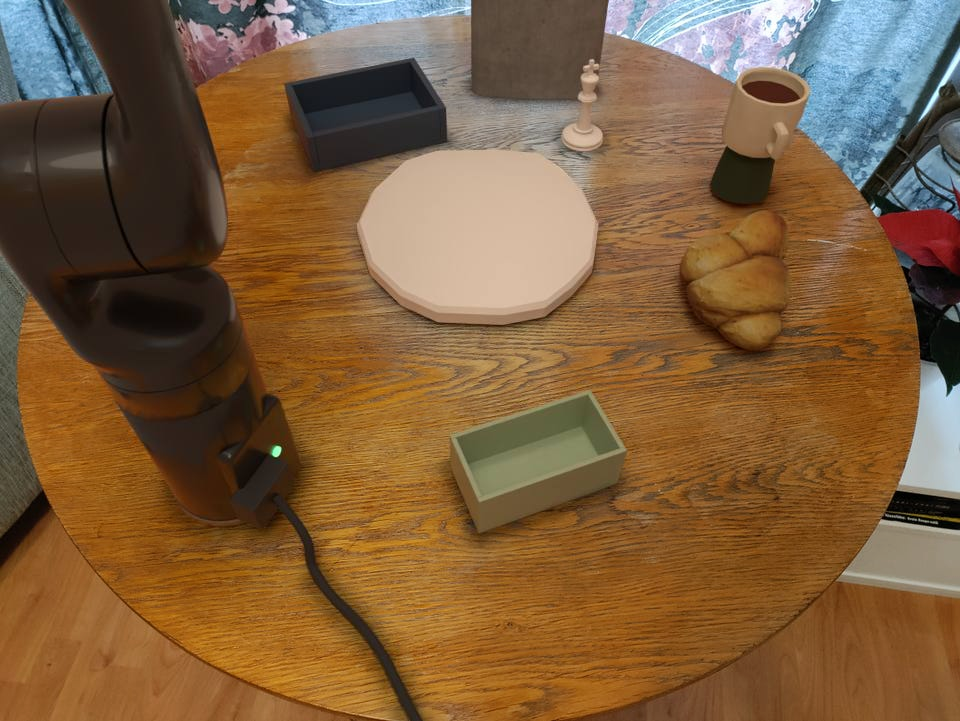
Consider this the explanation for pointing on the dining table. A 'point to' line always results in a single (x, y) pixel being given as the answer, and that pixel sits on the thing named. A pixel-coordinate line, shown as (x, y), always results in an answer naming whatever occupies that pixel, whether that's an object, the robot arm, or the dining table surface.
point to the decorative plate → (479, 236)
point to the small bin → (535, 460)
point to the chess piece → (584, 116)
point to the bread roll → (741, 279)
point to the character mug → (757, 132)
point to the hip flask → (534, 47)
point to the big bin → (366, 113)
